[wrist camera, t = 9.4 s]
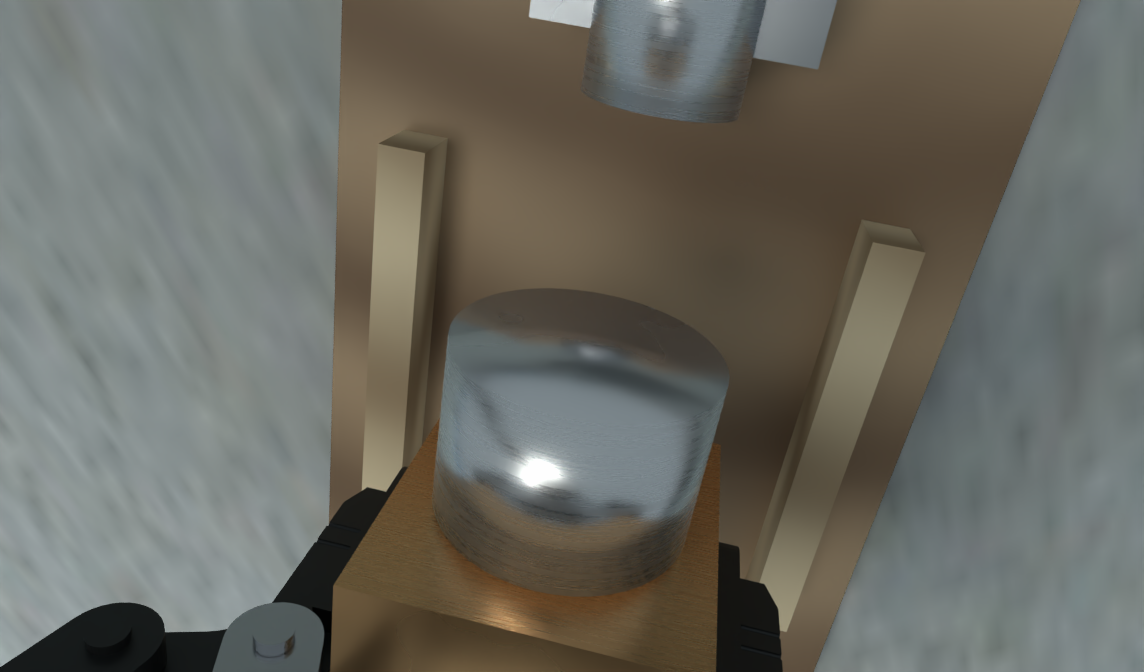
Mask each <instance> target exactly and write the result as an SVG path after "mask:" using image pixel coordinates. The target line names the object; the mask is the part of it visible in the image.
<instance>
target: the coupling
mask: <svg viewBox="0 0 1144 672" xmlns="http://www.w3.org/2000/svg"><path fill="white" fill-rule="evenodd" d="M729 378H730V377H729V370H728V367H727V364H726V362H725V360H724V358H723V356H722V355H721V353H720V352H719V351H718V350H717V348H716V347H715V346H714V345H713V344H712V343H711V342H710V341H709V340H708V339H707V338H705V337H704V336H703V335H702V334H700V333H699V332H698V331H696V330H695V329H693V328H692V327H690V326H689V325H687V324H685V323H683V322H682V321H680V320H678V319H676V318H674V317H672V316H670V315H668V314H666V313H663V312H661V311H659V310H656V309H654V308H651V307H648V306H646V305H643V304H640V303H637V302H634V301H630V300H627V299H623V298H619V297H615V296H611V295H606V294H601V293H595V292H589V291H582V290H572V289H557V288H535V289H522V290H514V291H508V292H502V293H498V294H494V295H491V296H488V297H485V298H482V299H479V300H477V301H475V302H473V303H471V304H470V305H468V306H467V307H465V308H464V309H462V310H461V311H460V312H459V313H458V314H457V315H456V316H455V318H454V319H453V321H452V323H451V324H450V328H449V332H448V341H447V351H446V361H445V371H444V381H443V391H442V401H441V411H440V418H439V419H438V421H437V423H436V424H435V426H434V427H433V429H432V430H431V432H430V434H429V435H428V437H427V438H426V440H425V442H424V443H423V445H422V446H421V448H420V449H419V451H418V453H417V454H416V456H415V457H414V459H413V460H412V462H411V464H410V465H409V467H408V468H407V470H406V472H405V473H404V475H403V476H402V478H401V479H400V481H399V483H398V484H397V486H396V487H395V489H394V490H393V492H392V494H391V495H390V497H389V498H388V500H387V502H386V503H385V505H384V506H383V508H382V509H381V511H380V513H379V514H378V516H377V517H376V519H375V520H374V522H373V524H372V525H371V527H370V528H369V530H368V532H367V533H366V535H365V536H364V538H363V539H362V541H361V543H360V544H359V546H358V547H357V549H356V550H355V552H354V554H353V555H352V557H351V558H350V560H349V562H348V563H347V565H346V566H345V568H344V569H343V571H342V573H341V574H340V576H339V577H338V579H337V580H336V582H335V584H334V585H333V607H332V635H331V664H330V672H716V646H717V598H718V549H719V501H720V453H721V445H720V444H716V443H713V440H714V436H715V432H716V429H717V425H718V422H719V418H720V414H721V411H722V407H723V403H724V400H725V396H726V393H727V389H728V385H729Z"/></svg>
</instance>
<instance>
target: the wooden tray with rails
mask: <svg viewBox="0 0 1144 672" xmlns="http://www.w3.org/2000/svg"><path fill="white" fill-rule="evenodd" d="M1080 1H1081V0H837V2H836V6H835V10H834V13H833V17H832V21H831V24H830V28H829V31H828V35H827V39H826V42H825V46H824V50H823V53H822V57H821V61H820V64H819V68H818V69H813V68H807V67H801V66H796V65H790V64H785V63H779V62H774V61H768V60H763V59H757V58H753V59H752V63H751V67H750V71H749V76H748V80H747V84H746V88H745V92H744V97H743V101H742V105H741V109H740V113H739V117H738V119H737V120H736V121H733V122H727V123H699V122H688V121H679V120H672V119H665V118H660V117H654V116H649V115H644V114H639V113H635V112H631V111H627V110H623V109H619V108H616V107H612V106H609V105H606V104H603V103H601V102H598V101H596V100H593V99H591V98H589V97H587V96H586V95H584V94H583V93H582V92H581V85H582V78H583V72H584V65H585V58H586V52H587V45H588V39H589V32H590V28H586V27H580V26H575V25H569V24H564V23H558V22H553V21H547V20H542V19H536V18H531V17H529V12H530V3H531V0H342V33H341V72H340V112H339V151H338V191H337V230H336V270H335V309H334V349H333V388H332V427H331V467H330V506H329V523H330V521H331V519H332V518H333V516H334V515H335V514H336V512H337V511H338V509H339V508H340V507H341V505H342V504H343V502H345V501H346V500H348V499H349V498H351V497H353V496H354V495H356V494H357V493H359V492H361V491H362V490H364V489H365V488H367V487H369V488H373V489H377V490H381V491H385V492H386V491H387V490H388V488H389V486H390V485H391V483H392V482H393V480H394V479H395V477H396V476H397V474H398V473H399V471H400V470H401V468H402V467H404V466H406V467H409V465H410V464H411V462H412V460H413V459H414V457H415V456H416V454H417V453H418V451H419V449H420V448H421V446H422V445H423V443H424V442H425V440H426V438H427V437H428V435H429V434H430V432H431V430H432V429H433V427H434V426H435V424H436V423H437V421H438V419H439V418H440V411H441V401H442V391H443V381H444V371H445V361H446V351H447V341H448V332H449V328H450V324H451V323H452V321H453V319H454V318H455V316H456V315H457V314H458V313H459V312H460V311H461V310H462V309H464V308H465V307H467V306H468V305H470V304H471V303H473V302H475V301H477V300H479V299H482V298H485V297H488V296H491V295H494V294H498V293H502V292H508V291H514V290H522V289H535V288H557V289H572V290H582V291H589V292H595V293H601V294H606V295H611V296H615V297H619V298H623V299H627V300H630V301H634V302H637V303H640V304H643V305H646V306H648V307H651V308H654V309H656V310H659V311H661V312H663V313H666V314H668V315H670V316H672V317H674V318H676V319H678V320H680V321H682V322H683V323H685V324H687V325H689V326H690V327H692V328H693V329H695V330H696V331H698V332H699V333H700V334H702V335H703V336H704V337H705V338H707V339H708V340H709V341H710V342H711V343H712V344H713V345H714V346H715V347H716V348H717V350H718V351H719V352H720V353H721V355H722V356H723V358H724V360H725V362H726V364H727V367H728V370H729V377H730V378H729V385H728V389H727V393H726V396H725V400H724V403H723V407H722V411H721V414H720V418H719V422H718V425H717V429H716V432H715V436H714V440H713V443H716V444H720V445H721V453H720V501H719V542H721V543H726V544H730V545H734V546H738V547H739V550H740V578H742V579H746V580H750V581H754V582H758V583H762V584H765V586H766V588H767V589H768V591H769V593H770V595H771V597H772V598H773V600H774V602H775V604H776V606H777V607H778V611H779V625H780V638H779V639H781V652H782V655H781V660H782V666H783V672H814V669H815V666H816V664H817V661H818V659H819V656H820V654H821V651H822V649H823V646H824V644H825V641H826V639H827V636H828V634H829V631H830V629H831V626H832V624H833V621H834V619H835V616H836V614H837V611H838V609H839V606H840V604H841V601H842V599H843V596H844V594H845V591H846V589H847V586H848V584H849V581H850V579H851V576H852V574H853V571H854V568H855V566H856V563H857V561H858V558H859V556H860V553H861V551H862V548H863V546H864V543H865V541H866V538H867V536H868V533H869V531H870V528H871V526H872V523H873V521H874V518H875V516H876V513H877V511H878V508H879V506H880V503H881V501H882V498H883V496H884V493H885V491H886V488H887V486H888V483H889V481H890V478H891V476H892V473H893V471H894V468H895V465H896V463H897V460H898V458H899V455H900V453H901V450H902V448H903V445H904V443H905V440H906V438H907V435H908V433H909V430H910V428H911V425H912V423H913V420H914V418H915V415H916V413H917V410H918V408H919V405H920V403H921V400H922V398H923V395H924V393H925V390H926V388H927V385H928V383H929V380H930V378H931V375H932V373H933V370H934V368H935V365H936V362H937V360H938V357H939V355H940V352H941V350H942V347H943V345H944V342H945V340H946V337H947V335H948V332H949V330H950V327H951V325H952V322H953V320H954V317H955V315H956V312H957V310H958V307H959V305H960V302H961V300H962V297H963V295H964V292H965V290H966V287H967V285H968V282H969V280H970V277H971V275H972V272H973V270H974V267H975V264H976V262H977V259H978V257H979V254H980V252H981V249H982V247H983V244H984V242H985V239H986V237H987V234H988V232H989V229H990V227H991V224H992V222H993V219H994V217H995V214H996V212H997V209H998V207H999V204H1000V202H1001V199H1002V197H1003V194H1004V192H1005V189H1006V187H1007V184H1008V182H1009V179H1010V177H1011V174H1012V172H1013V169H1014V167H1015V164H1016V161H1017V159H1018V156H1019V154H1020V151H1021V149H1022V146H1023V144H1024V141H1025V139H1026V136H1027V134H1028V131H1029V129H1030V126H1031V124H1032V121H1033V119H1034V116H1035V114H1036V111H1037V109H1038V106H1039V104H1040V101H1041V99H1042V96H1043V94H1044V91H1045V89H1046V86H1047V84H1048V81H1049V79H1050V76H1051V74H1052V71H1053V69H1054V66H1055V63H1056V61H1057V58H1058V56H1059V53H1060V51H1061V48H1062V46H1063V43H1064V41H1065V38H1066V36H1067V33H1068V31H1069V28H1070V26H1071V23H1072V21H1073V18H1074V16H1075V13H1076V11H1077V8H1078V6H1079V3H1080Z"/></svg>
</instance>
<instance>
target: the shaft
mask: <svg viewBox="0 0 1144 672" xmlns="http://www.w3.org/2000/svg"><path fill="white" fill-rule="evenodd" d="M836 2H837V0H531V3H530V12H529V17H531V18H536V19H542V20H547V21H553V22H558V23H564V24H569V25H575V26H580V27H586V28H590V32H589V39H588V45H587V52H586V58H585V65H584V72H583V78H582V85H581V92H582V93H583V94H584V95H586V96H587V97H589V98H591V99H593V100H596V101H598V102H601V103H603V104H606V105H609V106H612V107H616V108H619V109H623V110H627V111H631V112H635V113H639V114H644V115H649V116H654V117H660V118H665V119H672V120H679V121H688V122H699V123H727V122H733V121H736V120H737V119H738V117H739V113H740V109H741V105H742V101H743V97H744V92H745V88H746V84H747V80H748V76H749V71H750V67H751V63H752V59H753V58H757V59H763V60H768V61H774V62H779V63H785V64H790V65H796V66H801V67H807V68H813V69H818V68H819V64H820V61H821V57H822V53H823V50H824V46H825V42H826V39H827V35H828V31H829V28H830V24H831V21H832V17H833V13H834V10H835V6H836Z"/></svg>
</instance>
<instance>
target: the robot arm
mask: <svg viewBox="0 0 1144 672" xmlns="http://www.w3.org/2000/svg"><path fill="white" fill-rule="evenodd" d="M407 468H408V467H406V466H404V467H402V468H401V470H400V471H399V473H398V474H397V476H396V477H395V479H394V480H393V482H392V483H391V485H390V486H389V488H388V490H387V491H386V492H385V491H381V490H377V489H373V488H369V487H367V488H365V489H364V490H362V491H361V492H359V493H357V494H356V495H354V496H353V497H351V498H349V499H348V500H346V501H345V502H343V504H342V505H341V507H340V508H339V509H338V511H337V512H336V514H335V515H334V516H333V518H332V519H331V521H330V523H329V526H326V528H325V529H324V531H323V532H322V533H321V535H320V536H319V538H318V541H317V543H316V542H315V543H314V545H313V546H312V547H311V549H310V550H309V552H308V553H307V554H306V556H305V557H304V559H303V560H302V562H301V563H300V564H299V566H298V567H297V569H296V570H295V571H294V573H293V574H292V576H291V577H290V578H289V580H288V581H287V583H286V584H285V585H284V587H283V588H282V590H281V591H280V592H279V594H278V595H277V597H276V598H275V600H274V601H273V602H272V603H269V604H264V605H261V606H257V607H255V608H253V609H250V610H248V611H247V612H245V613H243V614H242V615H240V616H239V617H238V618H237V619H235V620H234V621H233V622H232V623H231V625H230V626H229V627H228V629H225V630H220V631H210V632H165V628H164V623H163V621H162V618H161V617H160V616H159V614H158V613H157V612H155V611H154V610H153V609H151V608H149V607H147V606H144V605H141V604H136V603H113V604H108V605H103V606H100V607H97V608H94V609H91V610H89V611H87V612H84V613H82V614H81V615H79V616H77V617H76V618H74V619H72V620H71V621H69V622H68V623H66V624H65V625H63V626H62V627H60V628H59V629H57V630H56V631H54V632H53V633H51V634H50V635H48V636H47V637H45V638H44V639H42V640H41V641H39V642H38V643H36V644H35V645H33V646H32V647H30V648H29V649H27V650H26V651H24V652H23V653H21V654H20V655H18V656H17V657H15V658H14V659H12V660H11V661H9V662H8V663H6V664H5V665H3V666H2V667H0V672H330V664H331V635H332V607H333V585H334V584H335V582H336V580H337V579H338V577H339V576H340V574H341V573H342V571H343V569H344V568H345V566H346V565H347V563H348V562H349V560H350V558H351V557H352V555H353V554H354V552H355V550H356V549H357V547H358V546H359V544H360V543H361V541H362V539H363V538H364V536H365V535H366V533H367V532H368V530H369V528H370V527H371V525H372V524H373V522H374V520H375V519H376V517H377V516H378V514H379V513H380V511H381V509H382V508H383V506H384V505H385V503H386V502H387V500H388V498H389V497H390V495H391V494H392V492H393V490H394V489H395V487H396V486H397V484H398V483H399V481H400V479H401V478H402V476H403V475H404V473H405V472H406V470H407ZM779 638H780V625H779V611H778V607H777V606H776V604H775V602H774V600H773V598H772V597H771V595H770V593H769V591H768V589H767V588H766V586H765V584H762V583H758V582H754V581H750V580H746V579H742V578H740V550H739V547H738V546H734V545H730V544H726V543H721V542H719V549H718V598H717V646H716V672H783V666H782V660H781V655H782V652H781V639H779Z"/></svg>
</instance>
